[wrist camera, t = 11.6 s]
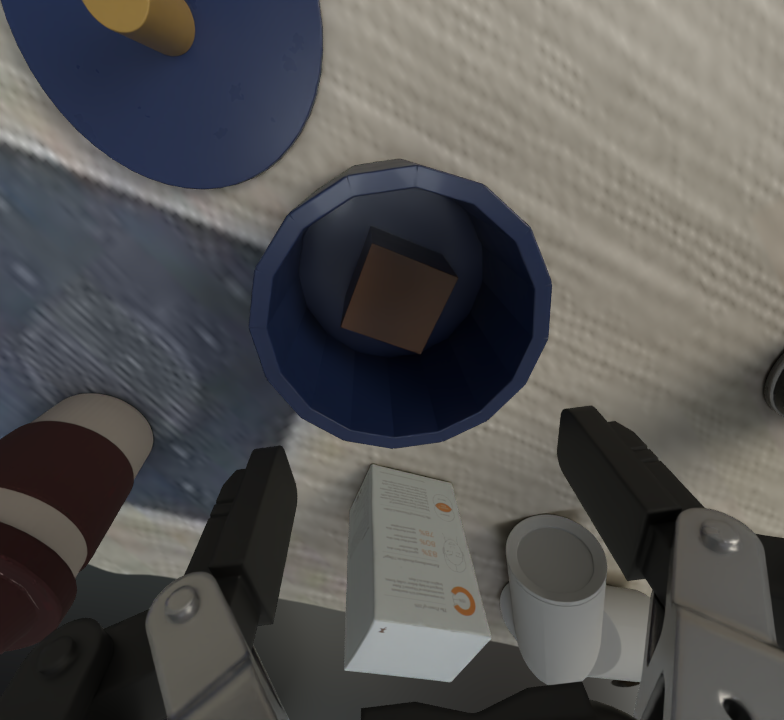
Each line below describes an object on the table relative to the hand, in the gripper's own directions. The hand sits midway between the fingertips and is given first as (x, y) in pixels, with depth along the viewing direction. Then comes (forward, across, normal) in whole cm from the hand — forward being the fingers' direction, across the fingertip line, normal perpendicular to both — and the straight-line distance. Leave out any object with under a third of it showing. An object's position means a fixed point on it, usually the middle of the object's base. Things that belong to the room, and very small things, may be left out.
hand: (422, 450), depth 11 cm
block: (+17, 0, 0) cm, 17 cm away
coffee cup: (+17, +24, +9) cm, 31 cm away
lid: (+16, +9, -14) cm, 24 cm away
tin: (+17, 0, 0) cm, 17 cm away
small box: (+17, +2, +21) cm, 27 cm away
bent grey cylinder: (+17, -14, +35) cm, 41 cm away
